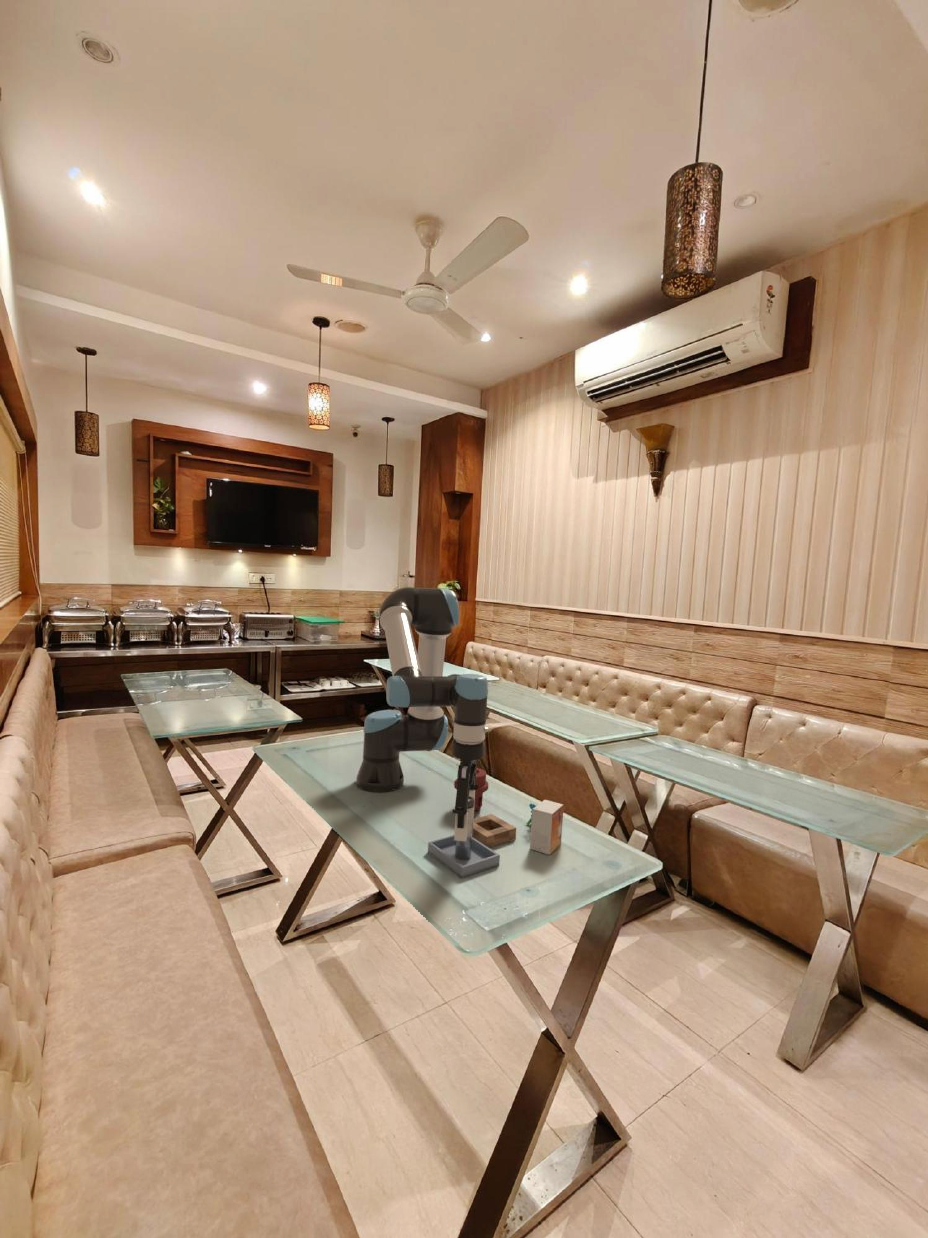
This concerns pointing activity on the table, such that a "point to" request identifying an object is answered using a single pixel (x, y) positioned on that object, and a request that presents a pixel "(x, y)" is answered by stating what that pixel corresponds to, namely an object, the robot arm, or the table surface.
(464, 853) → the pin
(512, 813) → the table surface
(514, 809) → the table surface
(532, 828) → the small box
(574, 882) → the table surface
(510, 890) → the table surface
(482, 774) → the mechanical component
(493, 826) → the socket
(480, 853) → the tray
